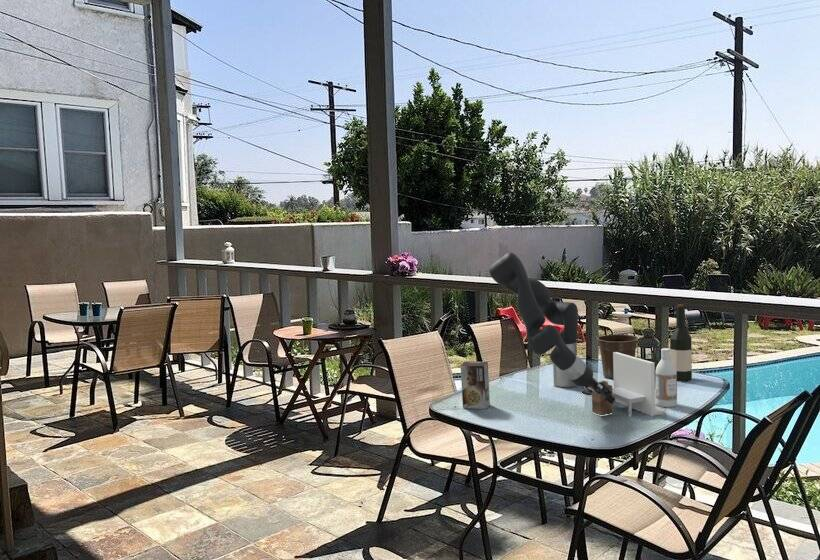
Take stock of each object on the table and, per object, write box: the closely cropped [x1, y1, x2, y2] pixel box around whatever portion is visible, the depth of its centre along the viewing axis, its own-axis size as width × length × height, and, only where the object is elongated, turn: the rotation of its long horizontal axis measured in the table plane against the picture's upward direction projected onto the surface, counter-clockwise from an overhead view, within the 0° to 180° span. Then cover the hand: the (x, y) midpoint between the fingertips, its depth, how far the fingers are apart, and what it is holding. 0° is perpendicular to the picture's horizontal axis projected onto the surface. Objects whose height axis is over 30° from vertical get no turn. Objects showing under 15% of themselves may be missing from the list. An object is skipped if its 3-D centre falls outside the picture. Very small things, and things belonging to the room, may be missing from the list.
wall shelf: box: [612, 352, 666, 417], centre depth 237 cm, size 12×20×18 cm, turn 20°
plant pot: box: [596, 334, 639, 380], centre depth 280 cm, size 16×16×16 cm
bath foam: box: [655, 347, 678, 408], centre depth 239 cm, size 7×7×20 cm
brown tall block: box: [591, 380, 614, 415], centre depth 233 cm, size 5×5×11 cm
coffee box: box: [459, 361, 491, 410], centre depth 249 cm, size 9×6×16 cm
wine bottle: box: [669, 304, 693, 383], centre depth 270 cm, size 8×8×30 cm
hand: (605, 398), depth 233 cm, fingers open, 8 cm apart
